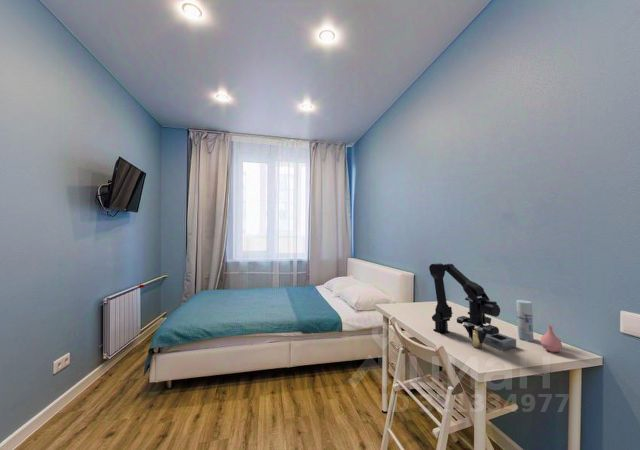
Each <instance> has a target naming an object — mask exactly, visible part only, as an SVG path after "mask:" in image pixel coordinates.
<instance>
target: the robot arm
mask: <svg viewBox="0 0 640 450" xmlns="http://www.w3.org/2000/svg"><path fill="white" fill-rule="evenodd" d="M428 269H429V273H430V275H431V277H432V278H433V281H434V287H435V289H434V290H435V296H436V303H437V304H436V306H435V309H434V310H435V312H434V314H433V315H432V316H431V318H432V319H431V320H432V321H433V322H434V326H435V327H434V328H433V329H432V330H433V331H434V332H436V333H439V334H441V335H443V334H448V333H450V332H451V331H450V330H449V327H448V326H449V325H448V322H450V321H451V318H452V316H453V311H452V310H453V309H452V306H449V304H448V302H447V297H446V296H447V295H446V289H445V283H444V277H445V274H446V272H447V273H448V275H450V276H451V277H452V278H453V279H454V280H456V282H457V283H459V285H460V286H461V287H462V289H463V292H464V293H465V294H466V295H467V296H466V297H465V298H464V300H465V301H468V305H469V307H468V308H469V311H468V312H467V315H469V317H468V316H465V315H461V316H457V318H456V323H457V324H461V325H462V324H463V325H462V327H464V329H465V331H467V334H468V336H469V335H470V337H471V338H470V337H469V338H470V339H471V340H472V329H474V328H481V330H480V331H478V335H479V341H480V344H482V345H483V344H484V343H483V341H484V339H485V336H486V334H489V335H494V334H498V333H500V330H499V327H498V326H495V325H492V318H491V317H488V316H492V317H495V318H497V317H499V315H500V313H501V308H500V306H499V304H498V303H497V301H496V300H495V301H493V300H490V297H489V296H488V295H487V294H486V292H485V291H484V290H485V289H484V287H482V286H481V285H480V284H478V283H477V282H475V281H473V280H470V279H469V278H468V277H467V276H466V275H464V274H463V273H462V272H461V271H460V270H459V269H458V268H457V267H456V266H455V265H454V263H445V264H443V263H430V266H429V267H428ZM486 315H488V316H486ZM487 324H488V325H487Z"/></svg>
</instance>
